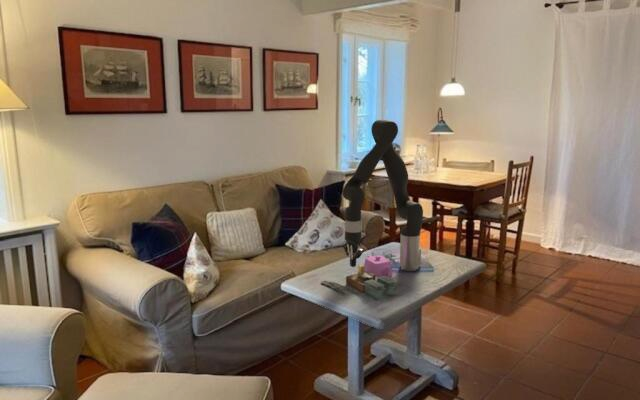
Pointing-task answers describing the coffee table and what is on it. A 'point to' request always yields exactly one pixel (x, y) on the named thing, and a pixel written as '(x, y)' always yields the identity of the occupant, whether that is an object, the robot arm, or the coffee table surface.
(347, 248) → the robot arm
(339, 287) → the driftwood
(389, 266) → the teapot
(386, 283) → the block set
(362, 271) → the yellow-capped grey beam
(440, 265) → the coffee table surface
